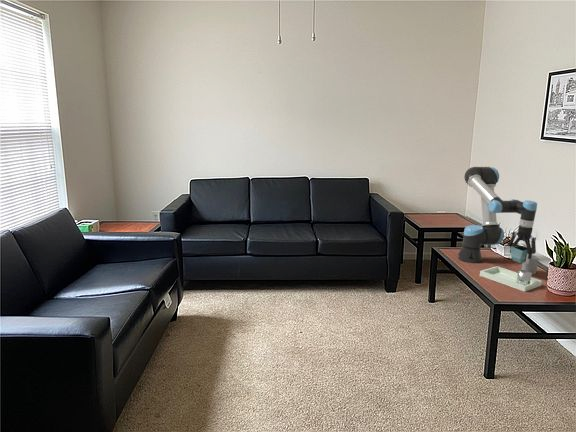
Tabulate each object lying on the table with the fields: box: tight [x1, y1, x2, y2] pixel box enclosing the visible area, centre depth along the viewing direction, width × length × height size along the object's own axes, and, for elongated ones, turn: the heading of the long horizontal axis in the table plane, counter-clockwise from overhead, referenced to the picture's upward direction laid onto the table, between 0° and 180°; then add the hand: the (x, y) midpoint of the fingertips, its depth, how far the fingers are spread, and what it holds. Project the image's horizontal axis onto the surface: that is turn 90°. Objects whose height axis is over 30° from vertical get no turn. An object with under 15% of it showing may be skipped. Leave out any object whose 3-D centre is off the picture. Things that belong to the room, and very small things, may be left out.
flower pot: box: [510, 245, 528, 264], centre depth 273 cm, size 9×9×9 cm
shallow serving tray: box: [479, 266, 543, 292], centre depth 263 cm, size 28×18×4 cm, turn 34°
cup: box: [520, 255, 539, 275], centre depth 281 cm, size 8×8×10 cm
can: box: [516, 269, 533, 286], centre depth 256 cm, size 7×7×8 cm
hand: (519, 260), depth 274 cm, fingers closed on flower pot, 9 cm apart
